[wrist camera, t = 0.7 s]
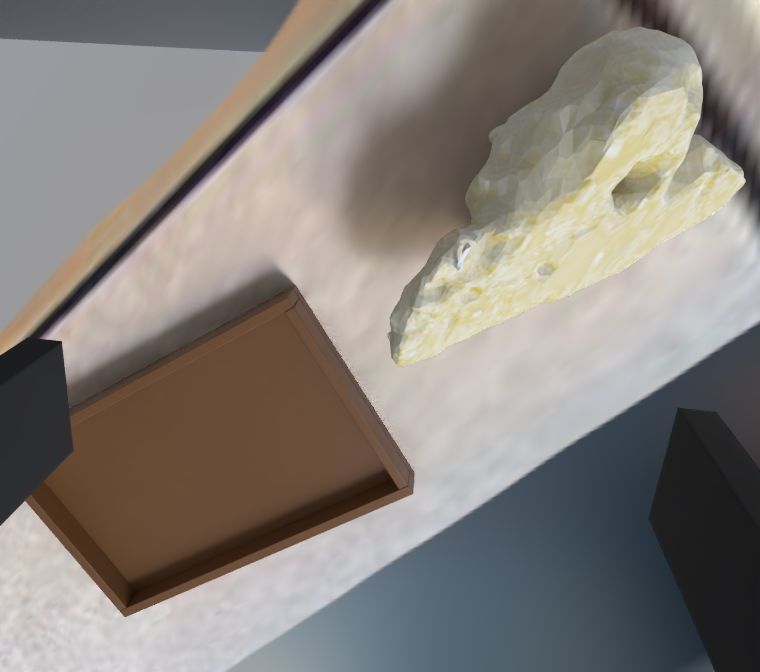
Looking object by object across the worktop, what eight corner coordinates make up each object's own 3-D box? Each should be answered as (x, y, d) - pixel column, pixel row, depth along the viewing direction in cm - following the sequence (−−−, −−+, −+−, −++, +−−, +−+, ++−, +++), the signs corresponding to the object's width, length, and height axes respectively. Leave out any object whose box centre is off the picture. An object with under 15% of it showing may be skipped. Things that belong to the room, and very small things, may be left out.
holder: (10, 441, 42) (-11, 459, 40) (295, 284, 37) (286, 297, 35) (138, 594, 46) (124, 617, 44) (415, 473, 40) (413, 494, 38)
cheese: (703, 11, 32) (458, -64, 23) (828, 96, 28) (587, 43, 20) (538, 258, 42) (323, 268, 33) (613, 347, 38) (391, 383, 29)
